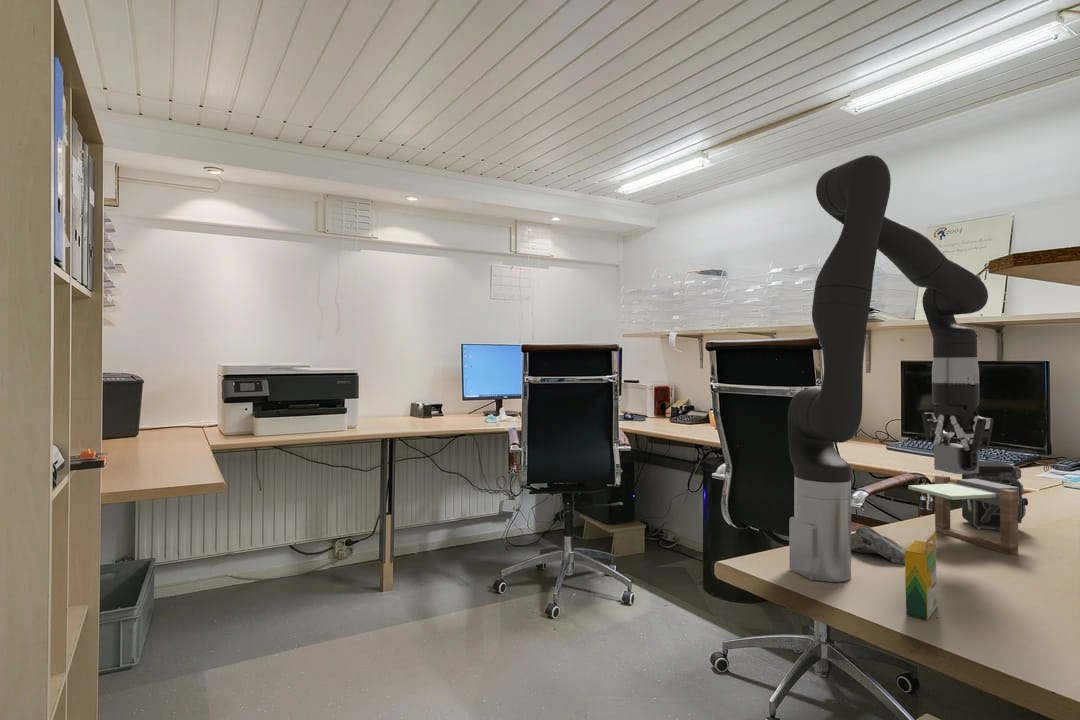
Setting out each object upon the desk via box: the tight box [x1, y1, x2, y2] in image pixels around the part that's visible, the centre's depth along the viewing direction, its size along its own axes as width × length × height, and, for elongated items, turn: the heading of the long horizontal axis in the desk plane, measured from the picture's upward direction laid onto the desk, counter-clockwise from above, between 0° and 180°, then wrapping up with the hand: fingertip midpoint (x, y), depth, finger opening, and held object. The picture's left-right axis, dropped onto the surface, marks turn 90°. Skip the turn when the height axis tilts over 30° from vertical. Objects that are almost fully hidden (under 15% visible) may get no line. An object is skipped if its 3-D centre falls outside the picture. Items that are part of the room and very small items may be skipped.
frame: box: [934, 475, 1019, 555], centre depth 124 cm, size 2×17×12 cm, turn 12°
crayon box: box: [904, 531, 938, 621], centre depth 89 cm, size 7×3×12 cm, turn 136°
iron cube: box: [933, 443, 980, 475], centre depth 113 cm, size 5×5×5 cm
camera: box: [961, 460, 1029, 531], centre depth 135 cm, size 10×10×15 cm
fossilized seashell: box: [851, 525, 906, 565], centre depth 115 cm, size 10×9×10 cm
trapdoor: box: [907, 478, 1019, 506], centre depth 123 cm, size 17×13×4 cm
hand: (956, 467), depth 113 cm, fingers closed on iron cube, 5 cm apart
